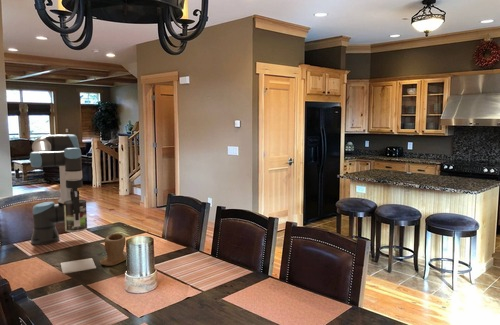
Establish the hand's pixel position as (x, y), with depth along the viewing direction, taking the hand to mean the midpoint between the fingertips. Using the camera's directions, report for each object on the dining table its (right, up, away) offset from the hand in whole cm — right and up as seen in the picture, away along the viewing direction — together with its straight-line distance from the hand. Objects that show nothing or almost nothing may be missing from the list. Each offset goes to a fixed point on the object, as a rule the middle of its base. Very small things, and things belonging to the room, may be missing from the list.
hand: (76, 223), depth 195 cm
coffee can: (0, -3, 0) cm, 3 cm away
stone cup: (+18, -21, +7) cm, 29 cm away
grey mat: (0, -22, +2) cm, 22 cm away
